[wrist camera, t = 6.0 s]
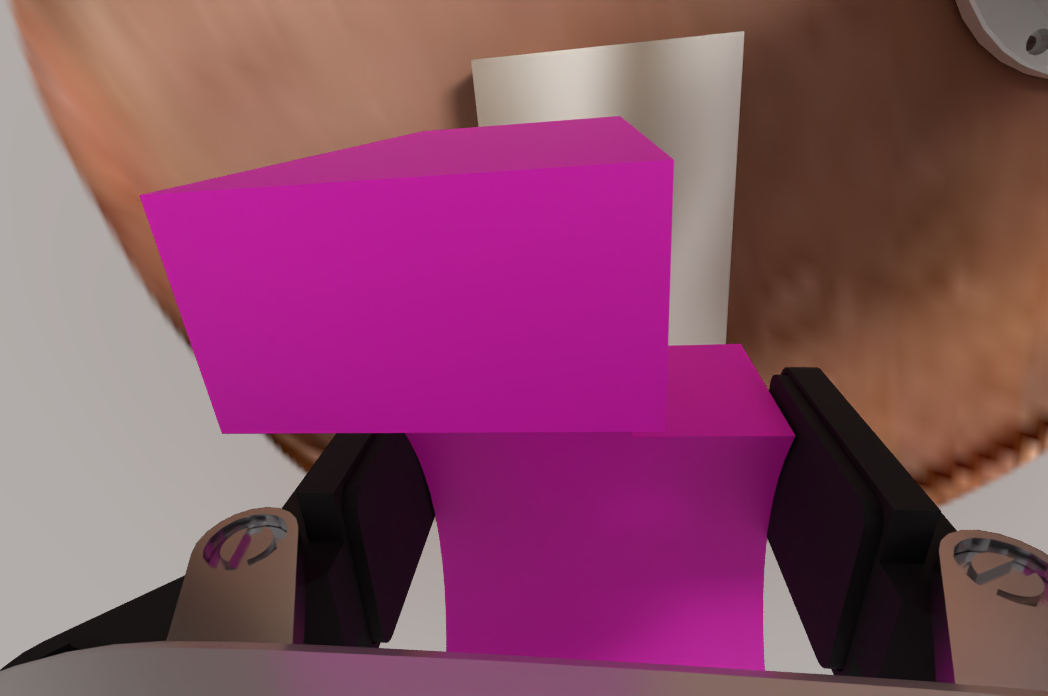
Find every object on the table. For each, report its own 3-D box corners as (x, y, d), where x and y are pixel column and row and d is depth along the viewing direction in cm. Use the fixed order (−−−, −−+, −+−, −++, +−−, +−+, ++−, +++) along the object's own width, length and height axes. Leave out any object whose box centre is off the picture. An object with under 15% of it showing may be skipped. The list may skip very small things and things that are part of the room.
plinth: (724, 39, 23) (744, 31, 20) (705, 436, 30) (718, 469, 28) (482, 64, 24) (470, 59, 21) (522, 441, 31) (517, 474, 29)
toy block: (711, 672, 16) (799, 1096, 9) (497, 661, 17) (433, 1043, 10) (762, 104, 10) (1120, 130, 3) (423, 131, 11) (139, 195, 4)
